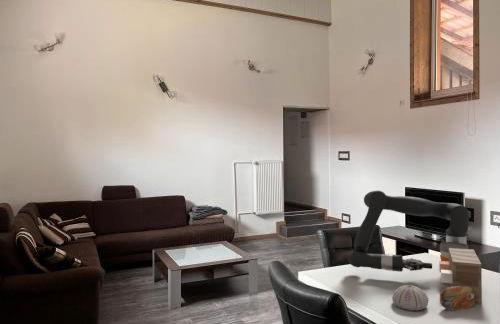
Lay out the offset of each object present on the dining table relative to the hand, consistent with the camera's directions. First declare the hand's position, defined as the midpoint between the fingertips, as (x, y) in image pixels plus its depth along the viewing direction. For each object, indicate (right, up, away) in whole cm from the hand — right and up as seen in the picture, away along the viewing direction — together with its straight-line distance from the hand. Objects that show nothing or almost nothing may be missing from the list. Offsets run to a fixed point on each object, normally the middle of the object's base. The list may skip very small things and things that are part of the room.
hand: (432, 266), depth 178 cm
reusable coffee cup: (+16, -8, +11) cm, 21 cm away
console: (+8, -8, -12) cm, 17 cm away
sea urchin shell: (-20, -9, -25) cm, 33 cm away
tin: (-3, -9, -28) cm, 29 cm away
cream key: (+1, -2, -15) cm, 16 cm away
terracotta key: (+6, -2, -3) cm, 7 cm away
